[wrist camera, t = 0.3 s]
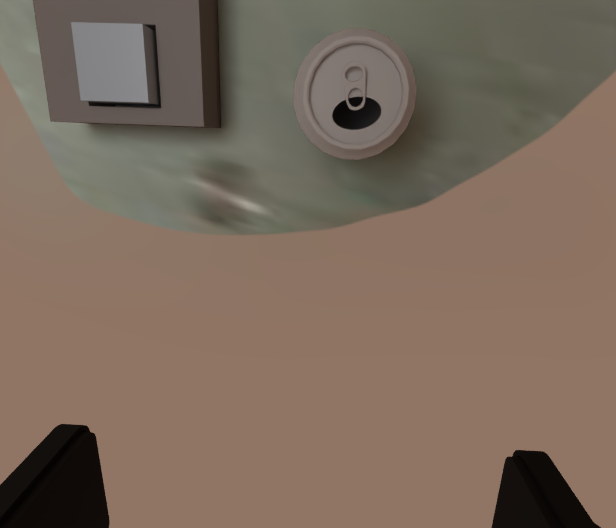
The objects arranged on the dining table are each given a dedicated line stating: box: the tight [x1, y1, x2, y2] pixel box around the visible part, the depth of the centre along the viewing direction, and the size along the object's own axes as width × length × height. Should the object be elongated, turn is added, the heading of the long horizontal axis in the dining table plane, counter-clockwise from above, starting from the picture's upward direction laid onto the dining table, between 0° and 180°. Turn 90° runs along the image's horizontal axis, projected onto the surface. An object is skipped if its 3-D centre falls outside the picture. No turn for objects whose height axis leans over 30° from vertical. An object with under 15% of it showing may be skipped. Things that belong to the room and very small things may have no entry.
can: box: [294, 28, 417, 160], centre depth 29 cm, size 8×8×12 cm
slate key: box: [71, 22, 161, 106], centre depth 31 cm, size 5×5×4 cm
